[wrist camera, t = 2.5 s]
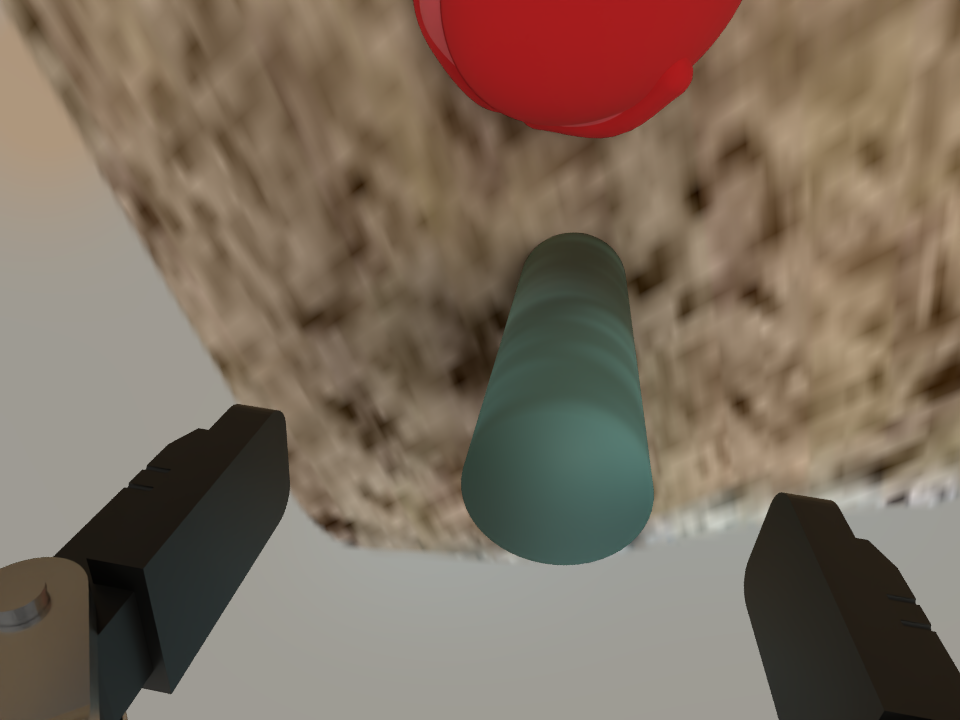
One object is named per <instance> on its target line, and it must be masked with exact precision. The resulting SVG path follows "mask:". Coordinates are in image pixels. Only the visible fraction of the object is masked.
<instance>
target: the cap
mask: <svg viewBox="0 0 960 720" xmlns="http://www.w3.org/2000/svg"><path fill="white" fill-rule="evenodd" d="M741 1H742V0H413V2H414V8H415V13H416V17H417V21H418V24H419V26H420V29H421V31H422V34H423V36H424V38H425V40H426V42H427V44H428V45H429V47H430V49H431V50H432V52H433V53H434V55H435V56H436V58H437V59H438V61H439V62H440V64H441V65H442V66H443V68H444V69H445V71H446V72H447V73H448V75H449V76H450V77H451V78H452V80H453V81H454V82H455V83H456V84H457V86H458V87H459V88H460V89H461V90H462V91H463V92H464V93H465V94H466V95H467V96H468V97H469V98H471V99H472V100H473V101H474V102H476V103H477V104H478V105H480V106H482V107H484V108H485V109H488V110H491V111H494V112H499V113H502V114H504V115H506V116H509V117H511V118H514V119H516V120H519V121H523V122H524V123H525V124H526V125H528V126H529V127H531V128H533V129H538V130H545V131H550V132H556V133H561V134H566V135H571V136H577V137H585V138H606V137H613V136H616V135H619V134H622V133H625V132H628V131H631V130H633V129H634V128H636V127H638V126H640V125H642V124H643V123H644V122H646V121H647V120H649V119H650V118H651V117H653V116H654V115H655V114H656V113H658V112H659V111H660V110H661V109H663V108H664V107H665V106H666V105H668V104H669V103H670V102H671V101H673V100H674V99H675V98H677V97H678V96H680V95H681V94H682V93H683V92H684V91H685V90H686V89H687V88H688V86H689V84H690V83H691V81H692V76H693V67H692V66H693V65H694V64H695V63H696V62H697V61H698V60H699V59H700V58H701V57H702V56H703V55H704V53H705V52H706V51H707V50H708V49H709V48H710V47H711V46H712V44H713V43H714V42H715V41H716V39H717V38H718V37H719V36H720V34H721V33H722V31H723V30H724V29H725V27H726V26H727V24H728V23H729V21H730V20H731V18H732V17H733V15H734V13H735V12H736V10H737V8H738V7H739V5H740V3H741Z"/></svg>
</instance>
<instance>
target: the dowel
mask: <svg viewBox="0 0 960 720" xmlns="http://www.w3.org/2000/svg"><path fill="white" fill-rule="evenodd" d="M461 490H462V495H463V500H464V503H465V506H466V509H467V511H468V513H469V515H470V517H471V518H472V520H473V521H474V523H475V524H476V525H477V527H478V528H479V529H480V530H481V531H482V532H483V533H484V534H485V535H486V536H487V537H488V538H489V539H490V540H491V541H493V542H494V543H496V544H497V545H498V546H500V547H501V548H503V549H505V550H507V551H509V552H510V553H513V554H515V555H517V556H519V557H522V558H525V559H528V560H531V561H535V562H540V563H545V564H553V565H576V564H584V563H589V562H593V561H597V560H600V559H603V558H606V557H608V556H610V555H613V554H614V553H616V552H618V551H620V550H622V549H623V548H624V547H626V546H627V545H628V544H630V543H631V542H632V541H633V540H634V539H635V538H636V537H637V536H638V535H639V533H640V532H641V531H642V530H643V528H644V527H645V525H646V523H647V521H648V519H649V516H650V514H651V511H652V506H653V500H654V489H653V481H652V474H651V466H650V459H649V451H648V443H647V436H646V428H645V420H644V413H643V405H642V398H641V390H640V382H639V375H638V367H637V359H636V352H635V344H634V337H633V329H632V321H631V314H630V306H629V298H628V291H627V283H626V276H625V270H624V267H623V264H622V262H621V260H620V258H619V257H618V255H617V254H616V252H615V251H614V250H613V249H612V248H611V247H610V246H609V245H608V244H606V243H605V242H603V241H602V240H600V239H598V238H596V237H594V236H590V235H587V234H582V233H565V234H560V235H557V236H554V237H551V238H549V239H547V240H545V241H544V242H542V243H541V244H540V245H538V246H537V247H536V248H535V249H534V250H533V251H532V253H531V254H530V255H529V257H528V258H527V260H526V262H525V264H524V267H523V270H522V273H521V276H520V280H519V283H518V286H517V290H516V293H515V296H514V300H513V303H512V306H511V310H510V313H509V316H508V320H507V323H506V327H505V330H504V333H503V337H502V340H501V343H500V347H499V350H498V353H497V357H496V360H495V363H494V367H493V370H492V373H491V377H490V380H489V384H488V387H487V390H486V394H485V397H484V400H483V404H482V407H481V410H480V414H479V417H478V420H477V424H476V427H475V430H474V434H473V437H472V440H471V444H470V447H469V451H468V454H467V457H466V461H465V464H464V467H463V472H462V478H461Z"/></svg>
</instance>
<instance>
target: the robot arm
mask: <svg viewBox="0 0 960 720" xmlns="http://www.w3.org/2000/svg"><path fill="white" fill-rule="evenodd" d="M289 491H290V478H289V463H288V448H287V433H286V421H285V417H284V414H283V413H282V412H281V411H278V410H272V409H266V408H259V407H253V406H247V405H241V404H235V405H233V406H231V407H230V408H229V409H228V410H227V412H225V413H224V414H223V416H222V417H221V418H220V419H219V420H218V421H217V422H216V423H215V424H214V425H213V426H212V427H211V428H210V429H209V430H205V429H199V428H198V429H196V430H194V431H193V432H191V433H189V434H187V435H185V436H183V437H181V438H179V439H177V440H175V441H174V442H172V443H170V444H168V445H167V446H166V447H165V448H164V449H163V450H162V451H161V452H160V453H159V454H158V455H157V456H156V457H155V458H154V459H153V460H152V461H151V462H150V463H149V464H148V465H147V468H146V470H142V471H140V473H138V474H137V475H136V476H135V477H134V478H133V479H132V480H131V481H130V482H129V486H128V488H123V489H122V490H121V491H120V492H119V493H118V494H117V495H116V496H115V497H114V498H113V499H112V500H111V501H110V502H109V503H108V504H107V505H106V506H105V507H104V508H103V509H102V510H101V511H100V512H99V513H98V514H96V516H94V517H93V518H92V519H91V521H89V522H88V523H87V524H86V525H85V526H84V527H83V528H82V529H81V530H80V531H79V532H78V533H77V534H76V535H75V536H74V537H73V538H72V539H71V540H70V541H69V542H68V543H67V544H66V545H65V546H64V547H63V548H62V549H61V550H60V551H59V552H58V553H57V554H56V555H55V556H53V557H42V558H33V559H28V560H24V561H20V562H17V563H13V564H11V565H8V566H6V567H3V568H1V569H0V720H128V719H127V714H126V710H127V709H128V707H129V706H130V704H131V703H132V702H133V700H134V699H135V697H136V696H137V694H138V693H139V691H140V690H141V688H144V689H149V690H154V691H159V692H164V693H168V694H172V692H173V691H174V689H175V688H176V686H177V684H178V683H179V681H180V680H181V678H182V676H183V675H184V673H185V672H186V670H187V669H188V667H189V665H190V664H191V662H192V661H193V659H194V657H195V656H196V654H197V653H198V651H199V649H200V647H201V646H202V645H203V643H204V642H205V640H206V638H207V637H208V635H209V634H210V632H211V630H212V629H213V627H214V625H215V624H216V622H217V621H218V619H219V618H220V616H221V614H222V613H223V611H224V610H225V608H226V607H227V605H228V603H229V602H230V600H231V599H232V597H233V595H234V594H235V592H236V590H237V589H238V587H239V586H240V584H241V583H242V581H243V579H244V578H245V576H246V575H247V573H248V572H249V570H250V568H251V567H252V565H253V563H254V562H255V560H256V559H257V557H258V556H259V554H260V552H261V551H262V549H263V548H264V546H265V544H266V543H267V541H268V540H269V538H270V536H271V535H272V533H273V532H274V530H275V529H276V527H277V525H278V524H279V522H280V520H281V519H282V516H283V514H284V512H285V509H286V505H287V502H288V497H289ZM744 595H745V602H746V606H747V610H748V614H749V617H750V621H751V624H752V628H753V631H754V635H755V638H756V641H757V645H758V648H759V652H760V655H761V659H762V662H763V666H764V669H765V673H766V676H767V680H768V683H769V686H770V690H771V694H772V697H773V701H774V704H775V707H776V711H777V715H778V718H779V720H960V673H959V671H958V669H957V667H956V666H955V664H954V662H953V661H952V659H951V658H950V656H949V654H948V652H947V651H946V649H945V647H944V646H943V644H942V642H941V641H940V639H939V637H938V635H937V634H936V632H933V631H931V624H930V622H929V620H928V618H927V617H926V615H925V613H924V612H923V610H922V608H921V607H920V605H916V603H915V600H916V598H915V597H914V595H913V593H912V592H911V590H910V588H909V587H908V585H907V583H906V582H905V580H904V578H903V577H902V575H901V573H900V571H899V570H898V568H897V567H896V566H895V565H894V564H893V563H892V562H891V561H890V560H888V559H887V558H886V557H885V556H884V555H883V554H882V553H881V552H880V551H879V550H878V549H877V548H876V547H875V546H874V545H873V544H871V542H869V541H868V540H865V539H859V538H855V536H854V534H853V532H852V531H851V529H850V527H849V525H848V523H847V522H846V520H845V518H844V516H843V514H842V512H841V510H840V509H839V507H838V505H837V504H836V503H835V502H833V501H832V500H826V499H819V498H813V497H807V496H801V495H794V494H788V493H782V492H781V493H778V494H777V495H776V496H775V497H774V499H773V500H772V503H771V505H770V507H769V510H768V512H767V515H766V517H765V520H764V522H763V525H762V528H761V530H760V533H759V535H758V538H757V540H756V543H755V545H754V548H753V550H752V553H751V556H750V558H749V560H748V563H747V567H746V571H745V578H744Z"/></svg>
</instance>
